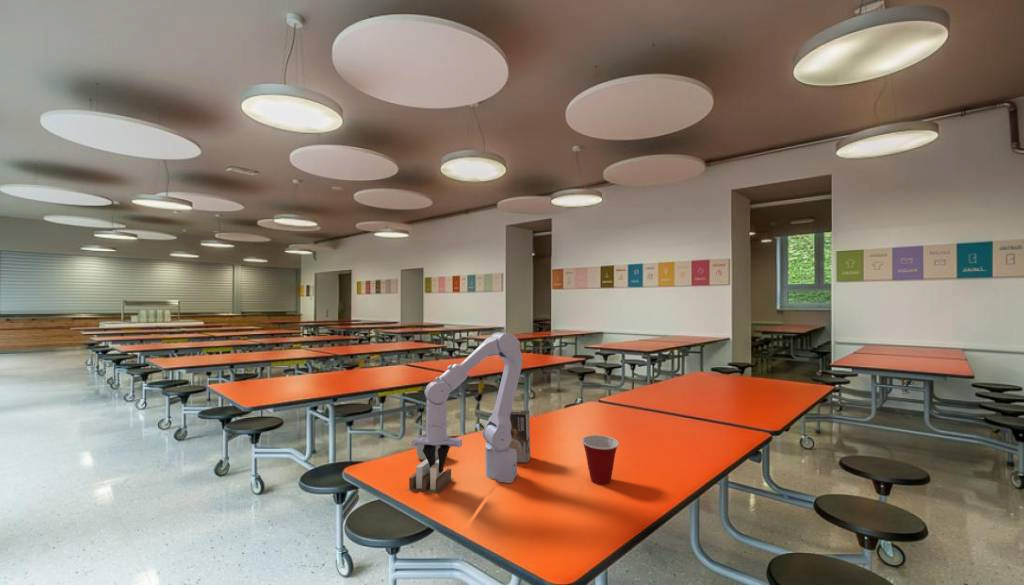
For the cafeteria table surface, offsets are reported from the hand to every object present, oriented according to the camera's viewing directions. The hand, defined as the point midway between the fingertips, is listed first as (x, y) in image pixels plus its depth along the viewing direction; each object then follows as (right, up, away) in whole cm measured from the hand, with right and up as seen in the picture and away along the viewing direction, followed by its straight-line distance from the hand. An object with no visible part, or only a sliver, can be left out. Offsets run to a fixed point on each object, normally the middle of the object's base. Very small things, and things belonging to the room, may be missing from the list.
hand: (437, 471), depth 124 cm
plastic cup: (+48, -4, +3) cm, 48 cm away
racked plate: (-4, -4, +1) cm, 6 cm away
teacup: (-6, -6, +26) cm, 27 cm away
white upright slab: (0, -4, 0) cm, 4 cm away
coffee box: (+23, -6, +23) cm, 33 cm away
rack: (-2, -5, 0) cm, 5 cm away
